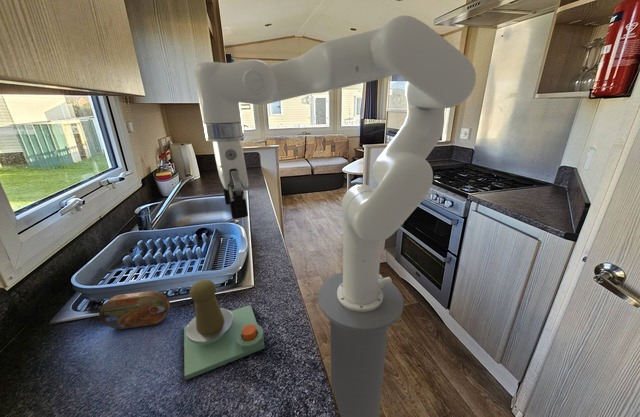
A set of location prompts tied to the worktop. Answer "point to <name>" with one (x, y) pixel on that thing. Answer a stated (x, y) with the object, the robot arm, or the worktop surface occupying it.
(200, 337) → the pan
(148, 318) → the tin
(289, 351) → the worktop surface
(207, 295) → the olive game pawn
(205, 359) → the scale
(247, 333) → the tare button
